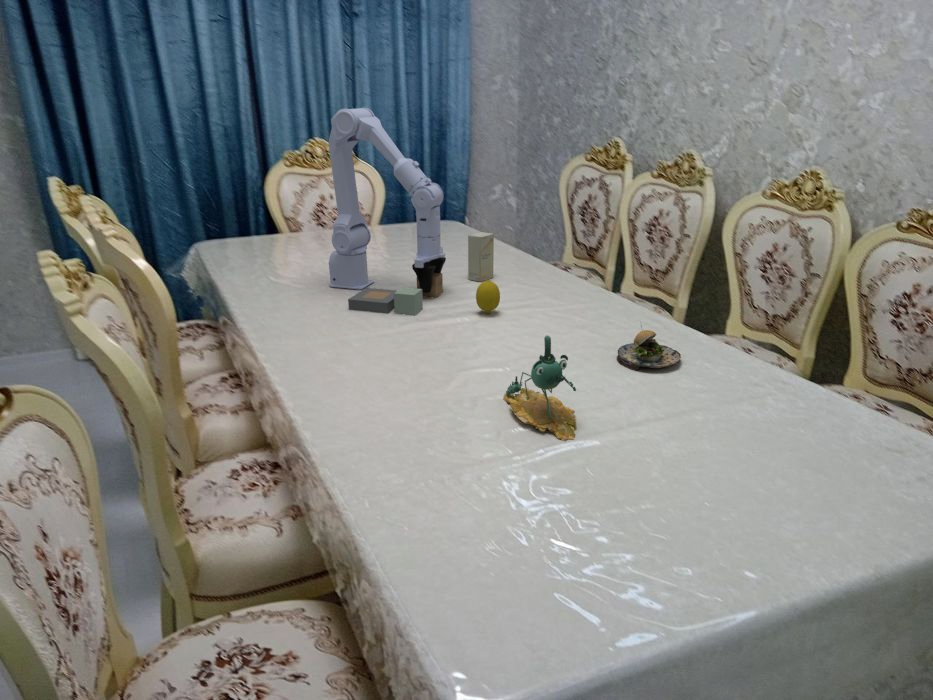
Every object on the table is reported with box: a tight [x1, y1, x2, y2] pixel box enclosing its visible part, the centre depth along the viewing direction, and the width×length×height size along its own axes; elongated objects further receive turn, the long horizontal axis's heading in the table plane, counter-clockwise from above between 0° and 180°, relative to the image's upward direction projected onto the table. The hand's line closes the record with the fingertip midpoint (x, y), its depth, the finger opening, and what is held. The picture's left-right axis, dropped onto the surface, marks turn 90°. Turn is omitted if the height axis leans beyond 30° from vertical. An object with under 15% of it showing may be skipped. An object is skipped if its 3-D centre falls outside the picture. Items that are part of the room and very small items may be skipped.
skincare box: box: [467, 231, 495, 283], centre depth 178 cm, size 6×4×12 cm
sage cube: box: [394, 286, 424, 316], centre depth 153 cm, size 5×5×5 cm
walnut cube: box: [416, 272, 444, 299], centre depth 166 cm, size 5×5×5 cm
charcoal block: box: [347, 287, 398, 315], centre depth 158 cm, size 10×10×3 cm
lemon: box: [475, 279, 501, 314], centre depth 151 cm, size 6×6×8 cm
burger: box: [616, 321, 682, 372], centre depth 125 cm, size 12×12×8 cm
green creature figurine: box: [503, 335, 578, 442], centre depth 103 cm, size 10×18×15 cm, turn 22°
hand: (429, 289), depth 166 cm, fingers closed on walnut cube, 5 cm apart
